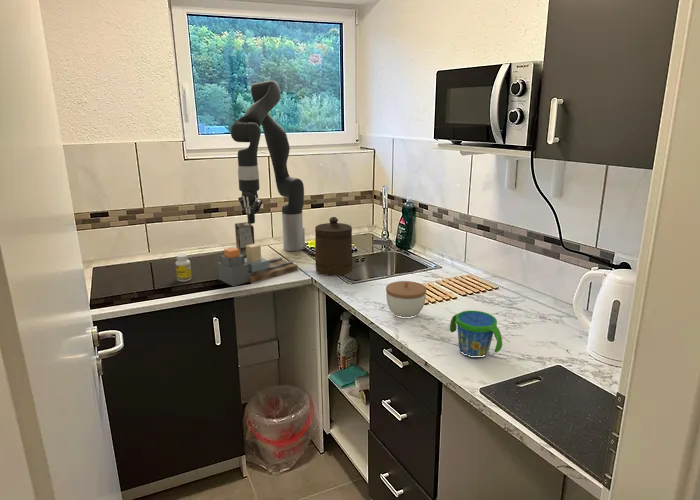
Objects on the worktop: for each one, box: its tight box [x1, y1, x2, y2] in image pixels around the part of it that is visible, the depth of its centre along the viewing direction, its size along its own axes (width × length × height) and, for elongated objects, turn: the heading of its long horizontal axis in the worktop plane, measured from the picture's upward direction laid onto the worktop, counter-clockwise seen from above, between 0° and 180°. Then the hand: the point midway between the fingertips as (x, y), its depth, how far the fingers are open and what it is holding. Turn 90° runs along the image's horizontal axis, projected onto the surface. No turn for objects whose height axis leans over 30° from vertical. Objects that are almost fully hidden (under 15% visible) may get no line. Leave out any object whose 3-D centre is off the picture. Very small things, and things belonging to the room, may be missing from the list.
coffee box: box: [234, 221, 256, 259], centre depth 207 cm, size 9×6×16 cm
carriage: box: [244, 243, 270, 272], centre depth 190 cm, size 8×9×9 cm
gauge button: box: [223, 247, 240, 258], centre depth 182 cm, size 4×4×3 cm
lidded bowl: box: [385, 280, 427, 317], centre depth 154 cm, size 13×13×11 cm
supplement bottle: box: [175, 253, 192, 282], centre depth 185 cm, size 5×5×10 cm
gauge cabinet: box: [217, 254, 250, 287], centre depth 184 cm, size 7×10×10 cm
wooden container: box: [314, 216, 353, 277], centre depth 194 cm, size 15×15×22 cm
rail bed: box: [248, 257, 299, 284], centre depth 195 cm, size 22×14×3 cm, turn 135°
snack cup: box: [449, 310, 503, 356], centre depth 129 cm, size 16×10×10 cm
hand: (251, 223), depth 186 cm, fingers closed
